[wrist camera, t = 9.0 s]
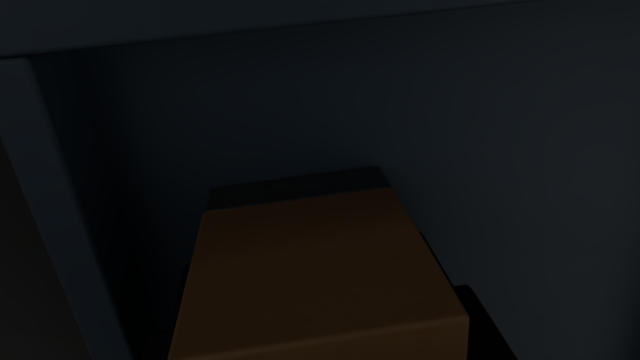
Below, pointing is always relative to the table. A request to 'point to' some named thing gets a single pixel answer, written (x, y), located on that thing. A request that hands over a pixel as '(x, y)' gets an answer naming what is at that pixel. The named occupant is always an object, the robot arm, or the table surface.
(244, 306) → the brown wooden block
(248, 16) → the tray
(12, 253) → the table surface
